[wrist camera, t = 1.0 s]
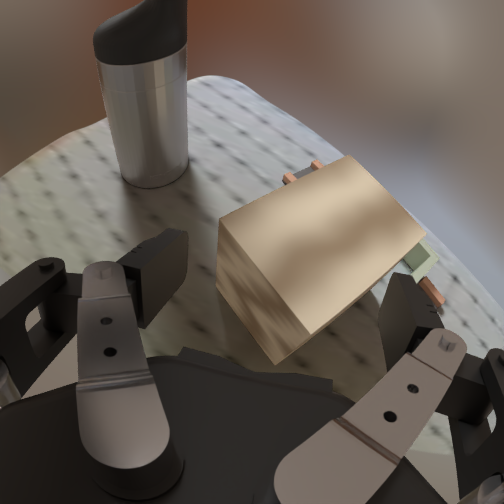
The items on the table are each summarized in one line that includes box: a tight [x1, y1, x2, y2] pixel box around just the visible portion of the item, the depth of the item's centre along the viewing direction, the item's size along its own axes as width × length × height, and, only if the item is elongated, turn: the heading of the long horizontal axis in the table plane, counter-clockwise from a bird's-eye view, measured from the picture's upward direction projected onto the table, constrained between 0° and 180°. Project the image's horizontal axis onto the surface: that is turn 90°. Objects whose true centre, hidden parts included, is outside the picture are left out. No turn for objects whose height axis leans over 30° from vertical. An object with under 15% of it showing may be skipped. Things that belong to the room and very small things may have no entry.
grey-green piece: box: [282, 160, 445, 309], centre depth 36 cm, size 25×7×4 cm, turn 36°
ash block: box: [216, 155, 427, 365], centre depth 29 cm, size 10×14×12 cm
